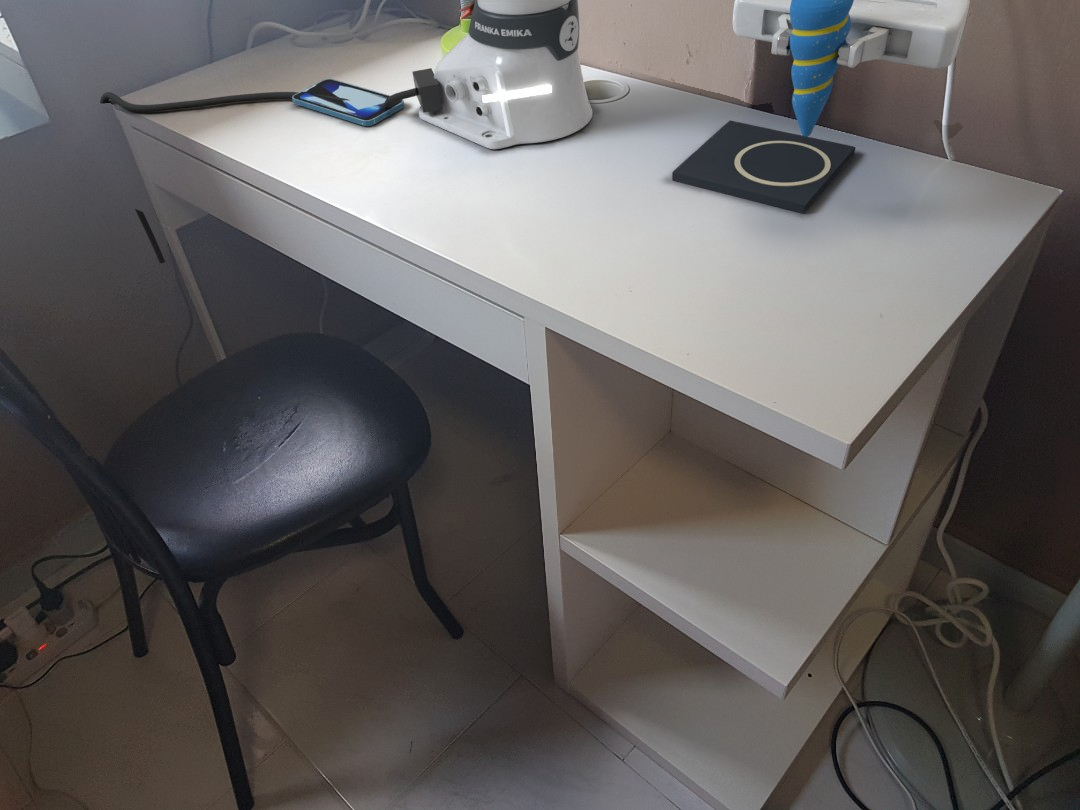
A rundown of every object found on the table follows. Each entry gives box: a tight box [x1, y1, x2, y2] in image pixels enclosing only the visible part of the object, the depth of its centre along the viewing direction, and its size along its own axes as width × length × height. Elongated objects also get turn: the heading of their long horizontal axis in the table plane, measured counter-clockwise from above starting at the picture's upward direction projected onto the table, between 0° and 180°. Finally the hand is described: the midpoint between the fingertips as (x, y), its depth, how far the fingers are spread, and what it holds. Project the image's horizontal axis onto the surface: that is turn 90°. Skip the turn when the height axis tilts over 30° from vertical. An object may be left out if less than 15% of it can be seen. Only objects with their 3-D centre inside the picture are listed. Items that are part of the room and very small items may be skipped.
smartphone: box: [291, 78, 405, 127], centre depth 112 cm, size 7×1×15 cm
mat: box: [671, 119, 856, 214], centre depth 91 cm, size 15×14×1 cm
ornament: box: [790, 0, 854, 137], centre depth 73 cm, size 5×5×15 cm
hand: (812, 52), depth 72 cm, fingers closed on ornament, 4 cm apart
